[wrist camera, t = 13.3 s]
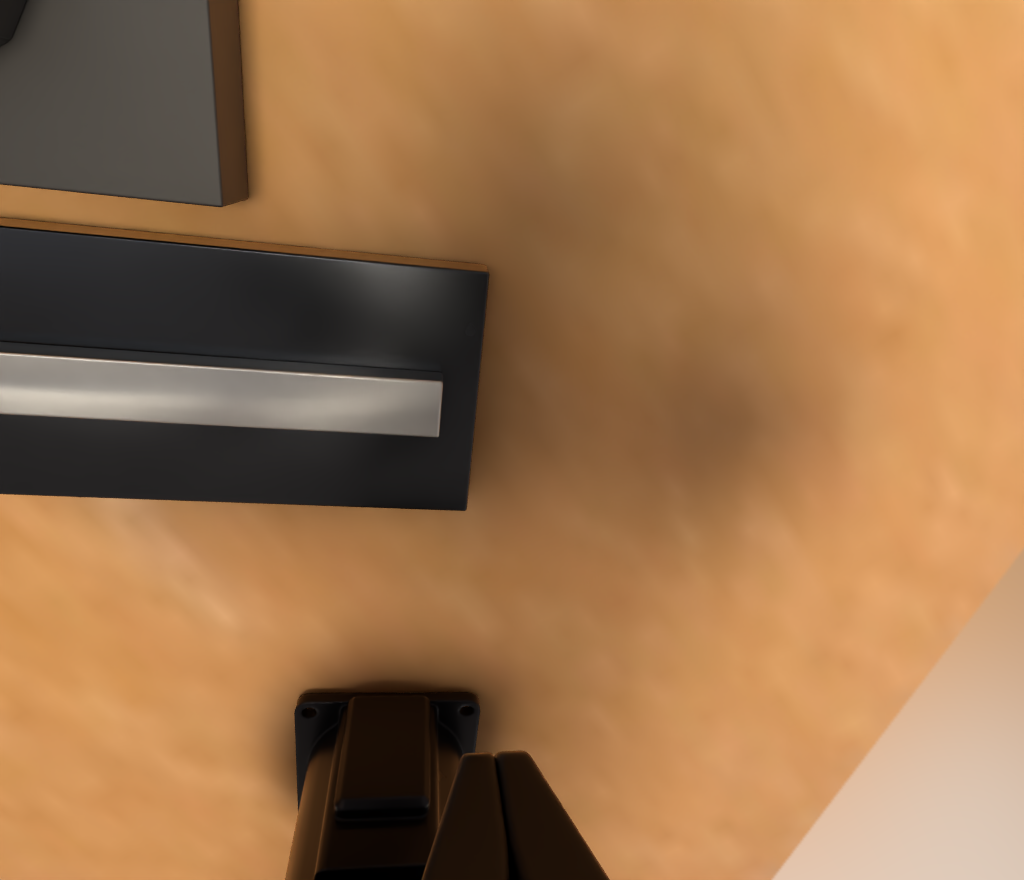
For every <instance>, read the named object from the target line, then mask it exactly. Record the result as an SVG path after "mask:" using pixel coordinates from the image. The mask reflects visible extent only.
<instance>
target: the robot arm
mask: <svg viewBox="0 0 1024 880" xmlns="http://www.w3.org/2000/svg"><path fill="white" fill-rule="evenodd" d="M463 706H469V707H463ZM308 708H314V709H308ZM479 715H480V705H479V698H478V697H477V695H475V694H473V693H469V692H425V693H310V694H305V695H303V696H301V697H300V698H299V699H298V701H297V705H296V709H295V738H296V765H297V791H298V816H297V822H296V827H295V832H294V837H293V842H292V847H291V852H290V857H289V863H288V868H287V873H286V878H285V880H609V878H608V876H607V875H606V873H605V872H604V870H603V869H602V867H601V865H600V864H599V862H598V861H597V859H596V858H595V856H594V855H593V853H592V851H591V850H590V848H589V847H588V845H587V844H586V842H585V840H584V839H583V837H582V836H581V834H580V833H579V831H578V829H577V828H576V826H575V825H574V823H573V822H572V820H571V819H570V817H569V815H568V814H567V812H566V811H565V809H564V808H563V806H562V804H561V803H560V801H559V800H558V798H557V797H556V795H555V793H554V792H553V790H552V789H551V787H550V786H549V784H548V783H547V781H546V779H545V778H544V776H543V775H542V773H541V772H540V770H539V768H538V767H537V765H536V764H535V762H534V761H533V759H532V758H531V756H530V755H529V754H528V753H527V752H525V751H505V752H498V753H497V754H496V755H495V757H494V755H493V754H492V753H489V752H483V753H475V747H476V739H477V731H478V723H479Z"/></svg>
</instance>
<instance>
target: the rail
mask: <svg viewBox="0 0 1024 880" xmlns="http://www.w3.org/2000/svg"><path fill="white" fill-rule="evenodd" d="M489 275H490V274H489V271H488V269H487V267H486V265H484V264H476V263H466V262H455V261H445V260H435V259H424V258H414V257H403V256H393V255H383V254H372V253H362V252H352V251H341V250H331V249H321V248H310V247H300V246H290V245H279V244H269V243H259V242H248V241H238V240H227V239H217V238H207V237H196V236H186V235H176V234H165V233H155V232H145V231H134V230H124V229H114V228H103V227H93V226H83V225H72V224H62V223H52V222H41V221H31V220H20V219H10V218H0V494H14V495H42V496H70V497H97V498H125V499H152V500H180V501H208V502H235V503H263V504H291V505H318V506H346V507H373V508H401V509H429V510H456V511H466V509H467V502H468V491H469V481H470V471H471V460H472V450H473V440H474V429H475V419H476V409H477V398H478V388H479V378H480V368H481V357H482V347H483V337H484V326H485V316H486V306H487V295H488V285H489Z"/></svg>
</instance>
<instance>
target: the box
mask: <svg viewBox="0 0 1024 880" xmlns="http://www.w3.org/2000/svg"><path fill="white" fill-rule="evenodd" d="M0 184H3V185H13V186H22V187H32V188H41V189H51V190H61V191H70V192H80V193H90V194H99V195H109V196H118V197H128V198H138V199H147V200H157V201H167V202H176V203H186V204H195V205H205V206H215V207H223V206H226V205H230V204H233V203H236V202H240V201H243V200H246V199H248V182H247V164H246V145H245V126H244V108H243V89H242V71H241V52H240V34H239V15H238V0H0Z"/></svg>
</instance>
